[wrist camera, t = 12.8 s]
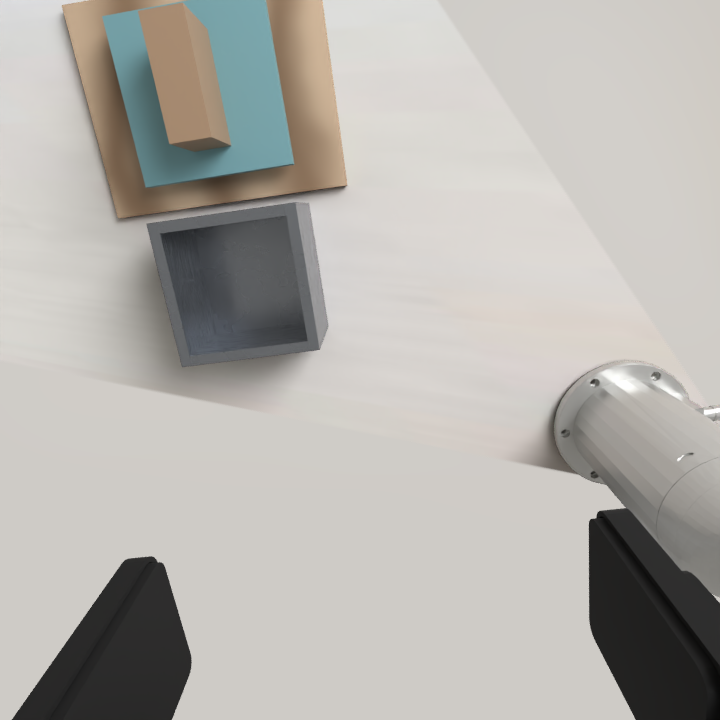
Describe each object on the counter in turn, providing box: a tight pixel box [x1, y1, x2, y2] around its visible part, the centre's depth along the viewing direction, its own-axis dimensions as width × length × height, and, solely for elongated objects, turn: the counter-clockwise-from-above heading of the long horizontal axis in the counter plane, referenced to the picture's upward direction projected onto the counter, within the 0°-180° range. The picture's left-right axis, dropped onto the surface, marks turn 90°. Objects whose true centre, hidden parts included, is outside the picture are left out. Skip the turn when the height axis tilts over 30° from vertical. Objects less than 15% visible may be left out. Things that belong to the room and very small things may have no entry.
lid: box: [102, 0, 294, 188], centre depth 37 cm, size 12×12×8 cm
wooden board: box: [62, 0, 347, 218], centre depth 41 cm, size 20×16×1 cm
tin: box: [147, 202, 328, 367], centre depth 41 cm, size 11×11×8 cm
